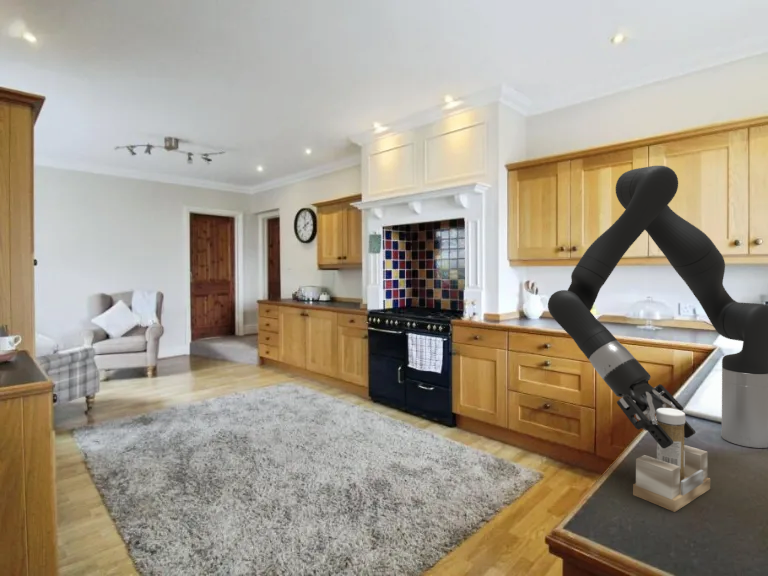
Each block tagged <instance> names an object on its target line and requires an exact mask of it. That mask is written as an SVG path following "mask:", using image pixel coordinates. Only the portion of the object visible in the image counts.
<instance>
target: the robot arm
mask: <svg viewBox="0 0 768 576" xmlns="http://www.w3.org/2000/svg"><path fill="white" fill-rule="evenodd" d="M678 189H679V178H678V176H677V173H676V172H675V171H674V170H673V169H672V168H670V167H669V166H666V165H652V166H646V167H638V168H634V169H631V170H628V171H625V172H623V173H622V174H621V175H620V176H619V177H618V179H617V181H616V184H615V195H616V198H617V200H618V202H619V204H620V205H621V207H623V209H624V211H623V212H622V214H620V216H619V217H618V219H616V220H615V222H614V223H612V224H611V226H609V228H608V229H606V230H605V231H604V232H603V233H602V234H600V236H598V237H597V238H596V239H595V240H594V241H593V242H592V243H591V244H590V245H589V246H588V248H587V249H586V250H585V252H584V253H583V255H582V256H581V257H580V259H579V261H578V262H577V264H576V265H575V267H574V269H573V270H572V272H571V276H570V279H571V282H570V285H569V287H568V288H567V290H565V289H564V290H563V289H562V290H561V289H560V290H557V291H555V292H553V294H551V295H550V297H549V298H548V302H547V308H548V313H549V314H550V316H551V317H552V318H553V319H554V320H555V321H556V323H557V324H558V325H559V326H560V327H561V328H562V329H563V331H565V332H566V333H567V334H568V335H569V337H571V338H572V339H573V341H574V343H575V344H576V346H577V348H579V350H580V351H581V352H582V353H583V355H585V357H586V358H587V359H588V361H589V362H590V364H591V365H592V367H593V369H594V370H595V371H596V373H597V374H598V375H599V376H600V378H601V379H602V380H603V381H604V382H605V383H606V385H607V386H608V387H609V389H610V390H611V391H612V392H613V393H614V395H615V396H616V397H618V398H620V399H617V401H616V403H617V405H618V407H619V408H620V409H621V410H622V412H623V414H625V416H626V417H627V419H628V421H630V423H631V424H632V425H633V427H634V428H635V429H636V430H638V431H639V430H641V429H642V430H644V431H645V432H646V431H648V433H649V434H650V435H651V437H652V438H653V439H654V440H655V441H656V444H657V443H658V444H659V445H660V446H661V447H662V448H667V447H669V446H670V445H672V444H673V440H672V439H671V438H670V437H669V436H668V434H667V433H666V432H665V431H664V430H663V428H662V427H661V426H660V425H659V424H658V425H657V419H656V410H657V409H659V408H672V409H677V410H680V411H682V412H683V410H684V406H682V404H681V403H680V402H678V400H677V399H676V398H675V397H674V396H673V395H672V394H671V393H670V392H669V390H667V388H665V386H664V385H662V384H658V385H656V386H654V387H653V386H652V385H651V384H649V381H650V380H651V374H650V373H649V372H648V371H647V370H646V369H645V367H643V365H642V364H641V363H640V362H639V360H638V359H636V358H635V356H634V355H633V354H632V353H631V352H630V351H629V350H628V348H627V347H626V346H624V345H623V344H621V343H620V342H619V340H618V339H617V338H616V337H615V336H614V335H613V334H612V332H611V331H610V330H609V329H608V328H607V327H606V326H605V325H604V324H602V323H601V322H600V321H599V320H598V319H597V317H595V315H594V314H593V313H592V312H591V310H592V308H593V307H594V304H595V302H596V300H597V298H598V295H599V294H600V293H599V292H600V290H601V289H602V287H603V286H604V285H605V284H606V282H607V280H608V279H609V277H610V276H611V274H612V273H613V271H614V270H615V268H616V266H617V265H618V263H619V262H620V261H621V259H623V256H624V255H625V254H626V253H627V251H628V250H629V248H631V246H632V245H633V244H635V242H636V241H637V240H638V238H639V237H640V236H641V235H642V234H643V233H644V231H645V232H646V234H648V235H649V237H650V238H651V240H652V241H653V242H654V244H655V245H656V246H657V247H658V248H659V250H660V251H661V252H662V254H663V255H664V257H665V258H666V259H667V261H668V262H669V263H670V265H671V267H672V268H673V269H674V270H675V272H676V273H677V275H679V277H680V278H681V279H682V280H683V282H684V283H685V284H686V285H687V287H688V289H689V291H690V292H691V293H692V295H694V297H695V299H696V300H697V301H698V302H699V304H700V305H701V308H702V309H703V311H704V313H705V314H706V316H707V318H708V320H709V322H710V324H711V325H712V327H713V328H714V330H715V331H716V332H717V333H718V334H719V335H720V336H721V337H723V338H726V339H728V340H733V341H739V342H743V343H742V347H741V350H740V351H739V352H736V353H732V354H726V355H724V356H723V357H722V359H721V376H722V377H721V438H722V439H724V440H725V441H726V442H729V443H732V444H735V445H739V446H742V447H747V448H757V449H767V448H768V304H764V303H753V302H752V303H751V302H739V301H736V300H734V298H732V296H731V295H730V294H729V293H728V291H727V290H726V288H725V286H724V284H723V283H724V276H725V272H726V271H725V270H726V263H725V258H724V256H723V254H722V253H721V251H720V250H719V249H718V247H716V245H715V244H714V242H713V240H712V239H711V238H710V237H709V236H708V235H707V234H706V233H705V232H703V231H702V230H701V229H700V228H698V227H697V226H695V225H694V224H693V223H690V222H689V221H688V220H686V219H685V218H683V217H681V216H680V215H678V214H677V212H675V211H674V210H672V209H671V207H670V206H669V204H670V203H671V202H672V200H673V199H674V198H675V197H676V194H677V191H678ZM695 434H696V431H695V429H694V428H693V427H692V426H691V424H689V422H688V421H687V420H686V419H685V425H684V439H688V438H690V437H692V436H694V435H695Z"/></svg>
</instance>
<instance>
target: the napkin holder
mask: <svg viewBox="0 0 768 576" xmlns="http://www.w3.org/2000/svg"><path fill="white" fill-rule="evenodd" d="M684 451H685V467H684V480H682V481H681V486H680V466H677V465H674V464H671V463H667V462H664V461H661V460H658V459H657V458H656V457H652V456H650V455H645V454H643V455H641V456H639V457H637V458H635V483H633V484H632V495H633V496H634V497H637V498H640V499H642V500H644V501H647V502H650V503H651V504H654V505H657V506H660V507H662V508H663V509H667V510H668V511H671V512H673V513H676V512H678V511H679V510H681V508H683V507H685V506H687V505H688V504H689V503H692V501H694V500H695V499H698V498H699V497H701V495H703V494H705V493H706V492H708V491H709V490H711V478H710V477H708V451H706V450H702V449H701V448H696V447H694V446H693V447H692V446H689V445H685V444H684Z"/></svg>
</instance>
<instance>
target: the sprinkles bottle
mask: <svg viewBox="0 0 768 576" xmlns="http://www.w3.org/2000/svg"><path fill="white" fill-rule="evenodd" d="M655 418H656V421H657V424H656V425H658V424H659V425H660V426H661V427H662V428H663V430H664V431H665V432H666V433H667V434H668V436H669V437H670V438H671V439H672V440H673V444H672V445H670V446H669V447H667V448H662V447H661V446H660V445H659V444H658V443H657V442H656V459H658V460H661V461H664V462H667V463H671V464H674V465H677V466H680V486H681V481H682V480H684V467H685V451H684V445H685V438H684V425H685V420H686V413H685V412H683V410H682V411H680V410H677V409H672V408H659V409H657V410H656V413H655Z"/></svg>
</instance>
